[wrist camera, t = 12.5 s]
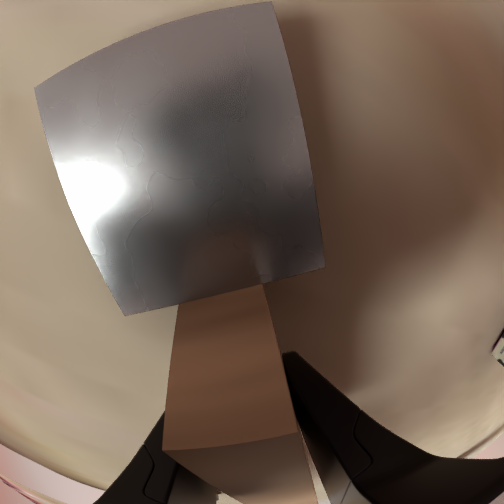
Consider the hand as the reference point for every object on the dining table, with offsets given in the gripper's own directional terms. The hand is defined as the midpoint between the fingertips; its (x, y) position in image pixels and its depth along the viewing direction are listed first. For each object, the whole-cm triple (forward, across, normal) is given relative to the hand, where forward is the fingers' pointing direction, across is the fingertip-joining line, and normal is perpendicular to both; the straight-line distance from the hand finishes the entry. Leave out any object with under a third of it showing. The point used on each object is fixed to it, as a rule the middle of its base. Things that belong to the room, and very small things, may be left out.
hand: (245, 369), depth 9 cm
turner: (+1, 0, -1) cm, 2 cm away
